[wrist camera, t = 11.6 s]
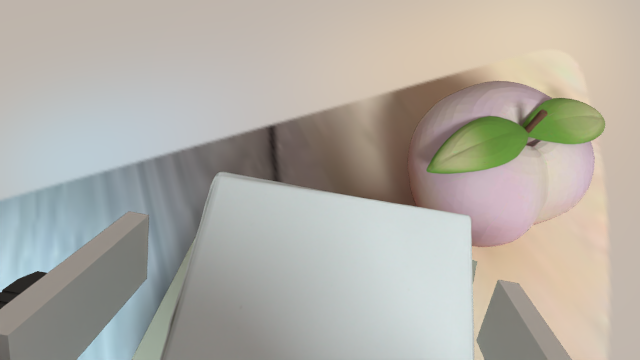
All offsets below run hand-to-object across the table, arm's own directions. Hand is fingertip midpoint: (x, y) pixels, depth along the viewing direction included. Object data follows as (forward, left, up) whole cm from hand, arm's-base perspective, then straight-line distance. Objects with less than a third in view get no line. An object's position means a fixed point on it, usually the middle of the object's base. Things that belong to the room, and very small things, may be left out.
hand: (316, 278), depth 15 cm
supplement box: (+1, -2, -7) cm, 8 cm away
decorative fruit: (+6, +10, -8) cm, 14 cm away
